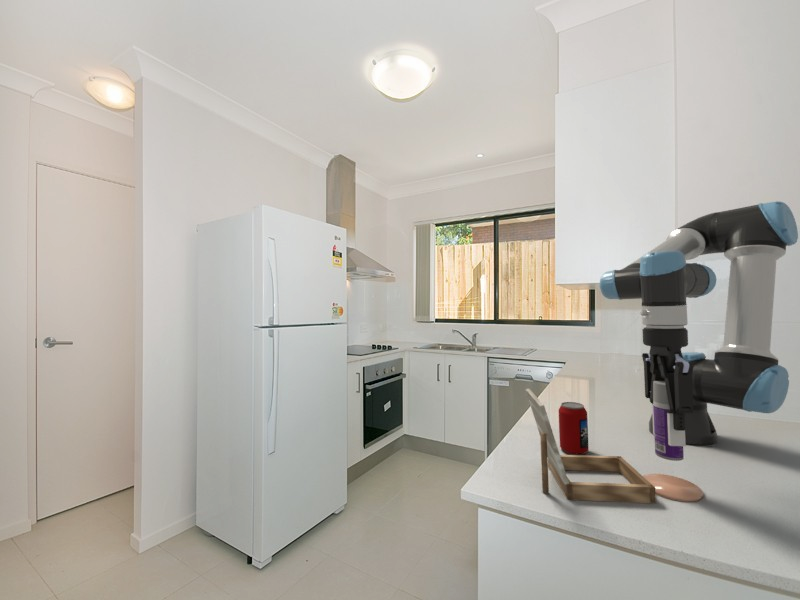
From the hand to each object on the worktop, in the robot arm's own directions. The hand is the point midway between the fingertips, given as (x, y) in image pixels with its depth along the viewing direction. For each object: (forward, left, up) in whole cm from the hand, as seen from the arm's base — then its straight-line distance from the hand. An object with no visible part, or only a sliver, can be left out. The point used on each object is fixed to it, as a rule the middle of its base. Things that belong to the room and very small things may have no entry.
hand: (668, 440), depth 74 cm
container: (0, 0, -3) cm, 3 cm away
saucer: (0, 0, -10) cm, 10 cm away
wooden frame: (+16, -1, -10) cm, 19 cm away
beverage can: (+13, -18, -10) cm, 24 cm away
